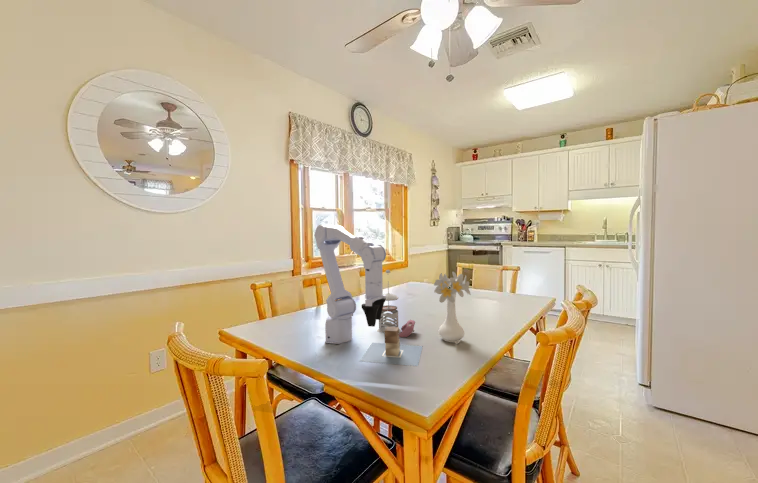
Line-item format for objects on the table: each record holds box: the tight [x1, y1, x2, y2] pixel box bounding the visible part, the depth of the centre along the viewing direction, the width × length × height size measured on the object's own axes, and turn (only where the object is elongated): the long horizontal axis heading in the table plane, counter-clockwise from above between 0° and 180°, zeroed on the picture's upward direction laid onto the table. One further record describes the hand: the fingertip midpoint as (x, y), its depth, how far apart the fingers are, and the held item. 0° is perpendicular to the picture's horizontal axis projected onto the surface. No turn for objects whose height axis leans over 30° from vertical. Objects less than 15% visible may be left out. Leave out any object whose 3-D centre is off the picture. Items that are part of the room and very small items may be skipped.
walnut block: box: [384, 326, 400, 344], centre depth 101 cm, size 4×4×4 cm
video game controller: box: [399, 319, 416, 338], centre depth 121 cm, size 10×5×7 cm, turn 170°
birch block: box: [384, 338, 401, 356], centre depth 101 cm, size 4×4×4 cm
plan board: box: [359, 342, 424, 367], centre depth 102 cm, size 18×16×1 cm
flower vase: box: [433, 271, 472, 345], centre depth 112 cm, size 13×18×25 cm
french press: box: [376, 269, 402, 334], centre depth 126 cm, size 10×12×25 cm
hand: (374, 322), depth 103 cm, fingers open, 7 cm apart
